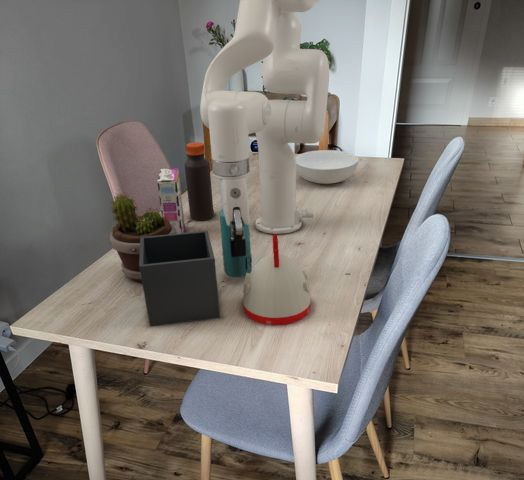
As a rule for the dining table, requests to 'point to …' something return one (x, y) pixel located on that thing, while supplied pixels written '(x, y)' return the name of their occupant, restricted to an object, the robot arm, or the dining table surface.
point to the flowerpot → (134, 232)
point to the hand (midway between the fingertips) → (236, 248)
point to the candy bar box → (171, 197)
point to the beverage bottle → (232, 265)
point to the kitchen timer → (276, 290)
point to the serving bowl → (326, 166)
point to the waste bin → (179, 277)
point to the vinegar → (198, 183)
